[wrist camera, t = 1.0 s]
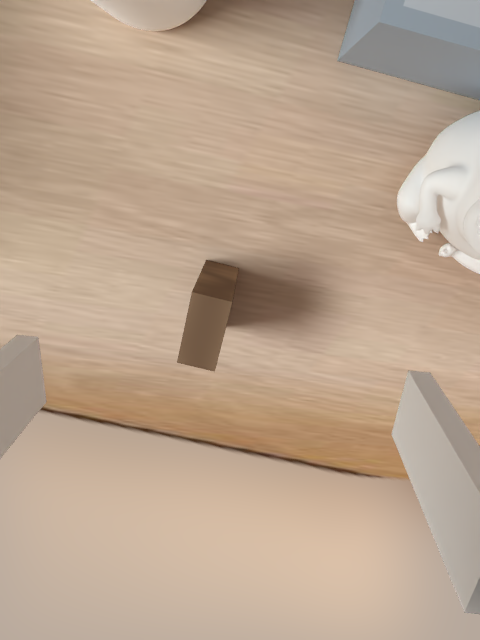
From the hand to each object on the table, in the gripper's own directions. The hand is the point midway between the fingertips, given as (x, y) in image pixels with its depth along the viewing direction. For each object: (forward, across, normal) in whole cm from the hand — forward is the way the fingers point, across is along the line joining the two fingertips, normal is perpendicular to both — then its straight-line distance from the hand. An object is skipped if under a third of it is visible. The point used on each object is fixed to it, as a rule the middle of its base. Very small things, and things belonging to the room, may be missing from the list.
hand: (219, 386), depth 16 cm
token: (+18, -2, -3) cm, 19 cm away
